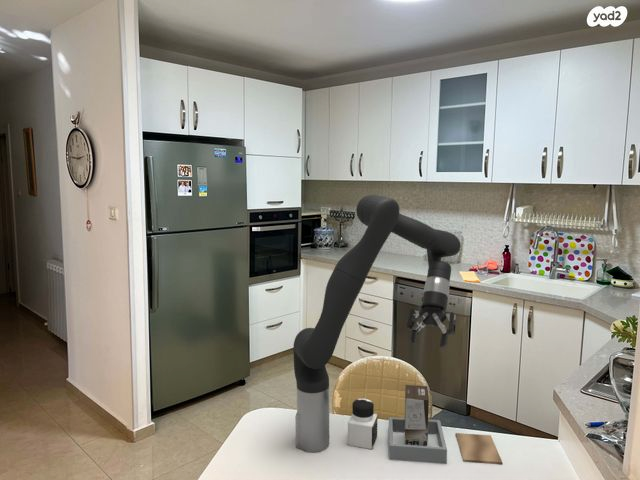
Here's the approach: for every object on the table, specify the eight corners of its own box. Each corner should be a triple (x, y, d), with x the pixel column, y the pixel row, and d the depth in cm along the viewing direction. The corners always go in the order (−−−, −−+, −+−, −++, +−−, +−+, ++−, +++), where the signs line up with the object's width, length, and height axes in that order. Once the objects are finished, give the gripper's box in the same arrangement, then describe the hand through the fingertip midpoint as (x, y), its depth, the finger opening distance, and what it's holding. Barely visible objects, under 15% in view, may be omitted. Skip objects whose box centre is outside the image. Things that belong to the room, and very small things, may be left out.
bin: (389, 459, 122) (389, 445, 122) (388, 429, 137) (388, 417, 136) (446, 463, 120) (447, 449, 120) (439, 432, 135) (440, 420, 134)
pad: (463, 461, 121) (463, 459, 121) (455, 434, 134) (455, 432, 134) (502, 464, 120) (502, 462, 119) (490, 437, 132) (490, 435, 132)
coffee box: (427, 456, 123) (429, 400, 121) (403, 453, 125) (404, 398, 123) (426, 438, 132) (428, 385, 130) (404, 435, 134) (405, 383, 131)
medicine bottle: (372, 450, 126) (372, 409, 125) (347, 445, 129) (347, 405, 127) (377, 436, 133) (377, 397, 132) (354, 432, 135) (354, 394, 134)
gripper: (409, 288, 141) (400, 339, 136) (455, 290, 133) (447, 345, 127) (418, 296, 147) (410, 346, 141) (462, 299, 139) (455, 351, 133)
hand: (427, 345), depth 134 cm, fingers open, 8 cm apart
